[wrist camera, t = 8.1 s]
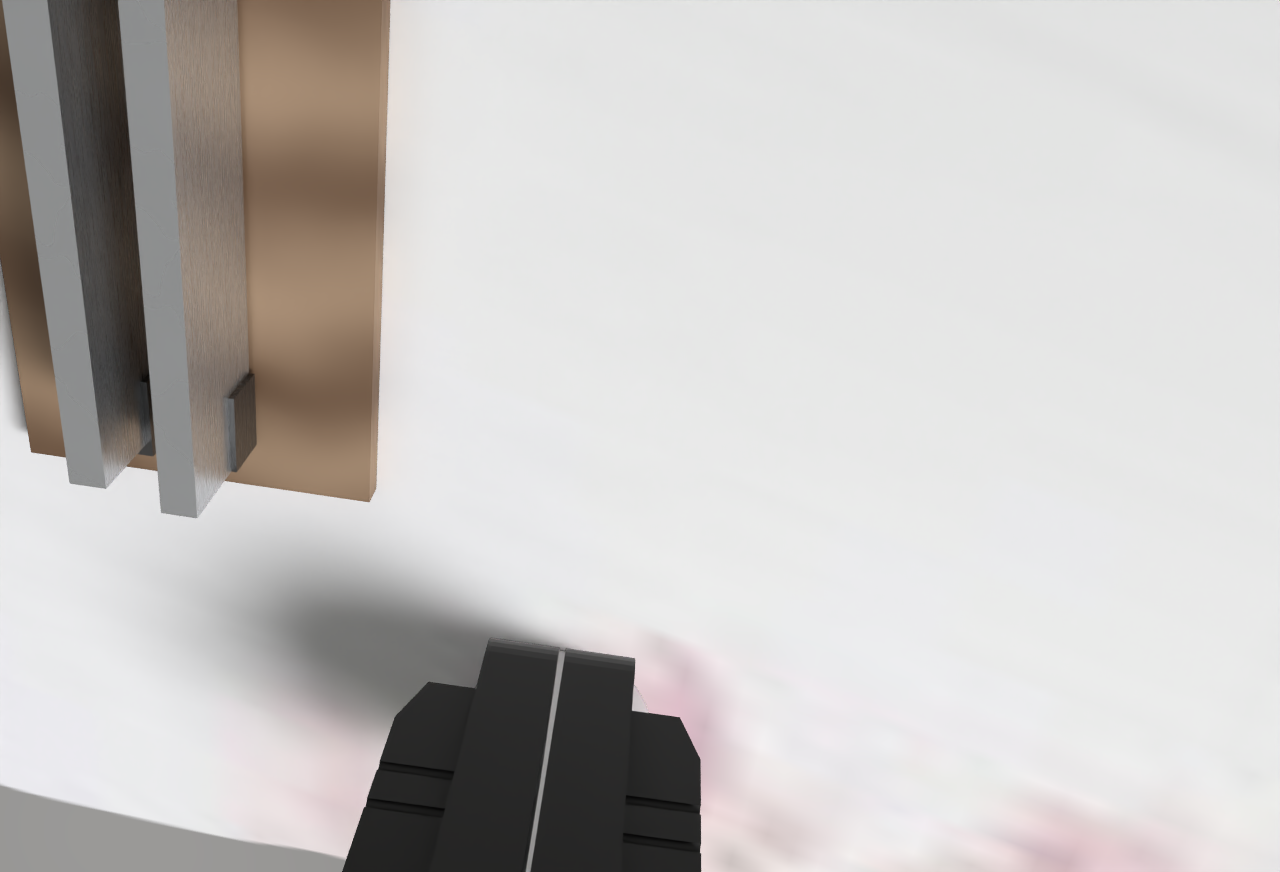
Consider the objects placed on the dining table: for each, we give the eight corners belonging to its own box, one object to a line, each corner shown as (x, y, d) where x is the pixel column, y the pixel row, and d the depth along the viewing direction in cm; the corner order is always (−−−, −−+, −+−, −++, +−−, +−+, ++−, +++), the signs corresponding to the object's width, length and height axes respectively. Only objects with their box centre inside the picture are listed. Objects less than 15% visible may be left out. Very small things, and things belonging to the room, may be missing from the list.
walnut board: (-79, -383, 29) (-103, -390, 28) (398, -300, 29) (390, -304, 28) (45, 439, 42) (31, 452, 41) (376, 488, 42) (369, 502, 41)
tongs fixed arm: (56, -339, 28) (-87, -379, 23) (203, -314, 29) (92, -347, 23) (134, 423, 40) (49, 511, 35) (238, 438, 40) (169, 529, 35)
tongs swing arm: (182, -170, 30) (95, -170, 26) (238, -160, 30) (161, -159, 26) (213, 438, 40) (154, 511, 36) (256, 444, 40) (203, 519, 36)
